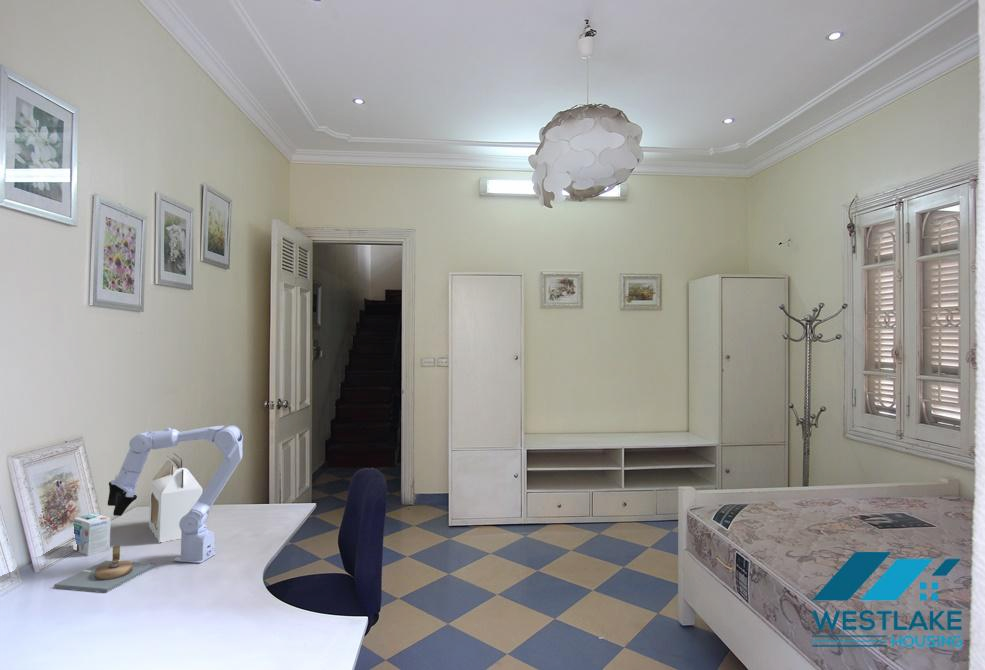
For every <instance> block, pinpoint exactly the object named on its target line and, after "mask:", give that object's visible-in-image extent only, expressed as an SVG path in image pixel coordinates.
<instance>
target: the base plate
mask: <svg viewBox="0 0 985 670" xmlns="http://www.w3.org/2000/svg"><path fill="white" fill-rule="evenodd" d="M111 562H113V561H112V560H104V561H102V562H100V563H97V564H95V565H93V566H90V567H88V568H87V569H84V570H82V571H79V572H78V573H76V574H73V575H72V576H69V577H67V578H65V579H63V580H60V581H58V582H55V583H54V585H53V588H54V587H57V588H56V589H62V588H67V589H66V590H73V589H76V590H77V591H84V590H87V592H95V591H98V593H106V592H107V593H109V592H111V591H113V590H115V589H116V588H118V587H120V586H122V585H124V584H126V583H128V582H130V581H131V580H130V579H132V578H133V579H135V578H137V577H138V575H139V576H141V575H143V574H145V573H147V572H149V571H150V570H152V569H154V568H155V564H153V563H143V562H141V563H140V562H132V571H131V572H130V573H128V574H126V575H124V576H121V577H118V578H114V579H106V580H101V579H97V578H95V570H96V568H98V567H99V566H101V565H104V564H107V563H111ZM148 570H149V571H148ZM146 571H147V572H146ZM144 572H145V573H144ZM142 573H143V574H142ZM140 574H141V575H140ZM136 576H137V577H136ZM134 577H135V578H134ZM133 579H132V580H133ZM129 580H130V581H129ZM127 581H128V582H127ZM125 582H126V583H125ZM123 583H124V584H123ZM121 584H122V585H121ZM119 585H120V586H119ZM117 586H118V587H117ZM115 587H116V588H115ZM114 588H115V589H114ZM112 589H113V590H112ZM110 590H111V591H110ZM108 591H109V592H108Z"/></svg>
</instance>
